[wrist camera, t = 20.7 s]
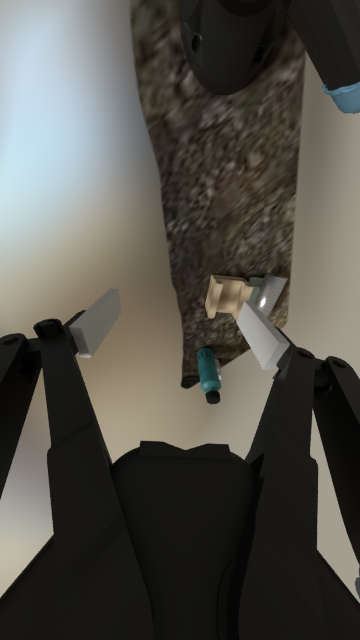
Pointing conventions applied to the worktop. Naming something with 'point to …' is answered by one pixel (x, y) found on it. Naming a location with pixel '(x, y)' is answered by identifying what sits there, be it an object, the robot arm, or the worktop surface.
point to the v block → (256, 284)
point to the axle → (269, 292)
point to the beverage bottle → (209, 375)
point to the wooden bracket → (227, 295)
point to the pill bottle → (218, 368)
